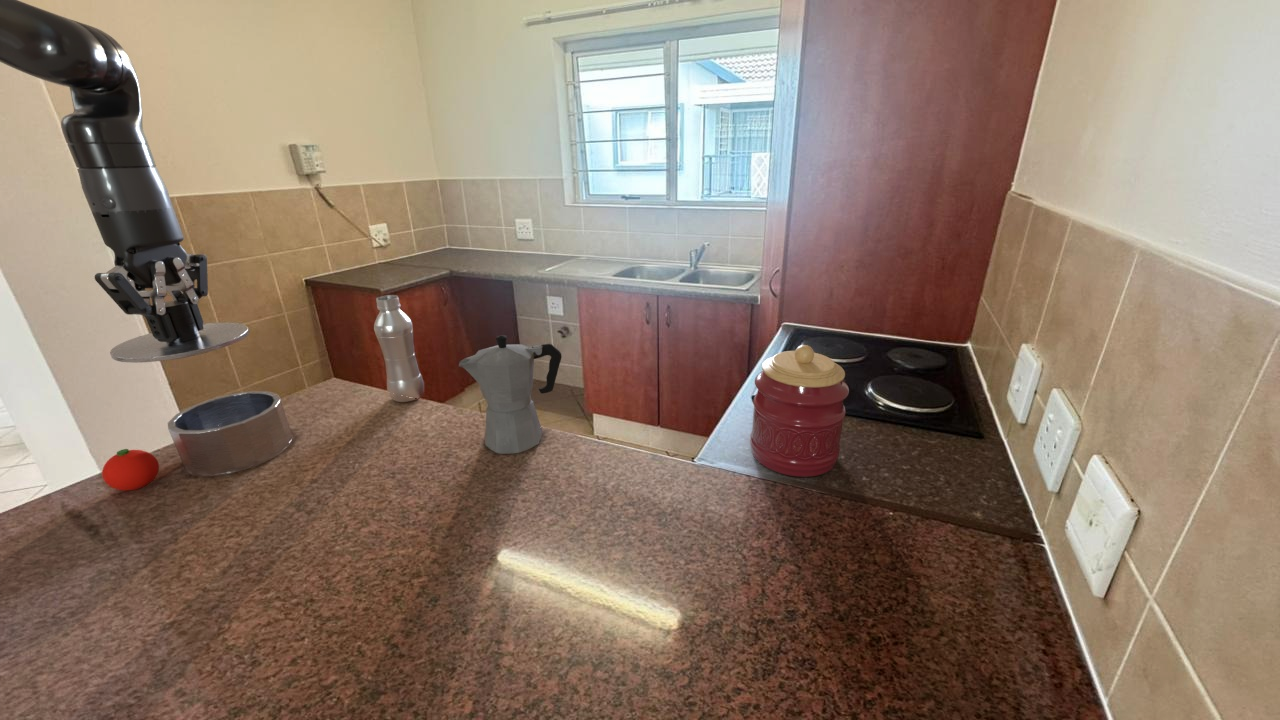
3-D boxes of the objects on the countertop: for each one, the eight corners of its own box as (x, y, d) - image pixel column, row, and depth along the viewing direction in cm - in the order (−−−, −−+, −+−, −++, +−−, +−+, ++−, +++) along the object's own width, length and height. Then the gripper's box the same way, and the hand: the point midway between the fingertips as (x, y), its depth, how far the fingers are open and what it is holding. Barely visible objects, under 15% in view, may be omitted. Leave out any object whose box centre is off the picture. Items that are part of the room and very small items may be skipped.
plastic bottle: (415, 388, 101) (395, 291, 93) (433, 397, 97) (414, 296, 89) (383, 399, 96) (359, 298, 88) (400, 409, 92) (377, 304, 84)
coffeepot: (475, 464, 75) (456, 352, 68) (469, 434, 83) (452, 332, 76) (574, 442, 80) (566, 337, 74) (560, 416, 89) (552, 319, 82)
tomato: (100, 498, 69) (81, 462, 67) (139, 474, 74) (123, 440, 72) (139, 499, 69) (121, 462, 66) (175, 475, 74) (160, 440, 72)
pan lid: (80, 367, 63) (58, 320, 61) (181, 329, 77) (166, 290, 74) (192, 367, 63) (174, 319, 61) (274, 329, 76) (262, 290, 74)
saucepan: (161, 477, 73) (141, 432, 71) (234, 430, 86) (219, 390, 83) (251, 478, 73) (234, 433, 70) (311, 430, 85) (299, 391, 83)
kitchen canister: (845, 483, 69) (865, 366, 63) (750, 474, 72) (759, 360, 65) (830, 435, 81) (845, 332, 75) (748, 429, 83) (756, 329, 77)
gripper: (155, 201, 69) (198, 320, 76) (39, 212, 56) (103, 354, 63) (208, 201, 69) (246, 320, 76) (104, 211, 56) (161, 354, 63)
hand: (181, 335), depth 69 cm, fingers closed on pan lid, 3 cm apart
